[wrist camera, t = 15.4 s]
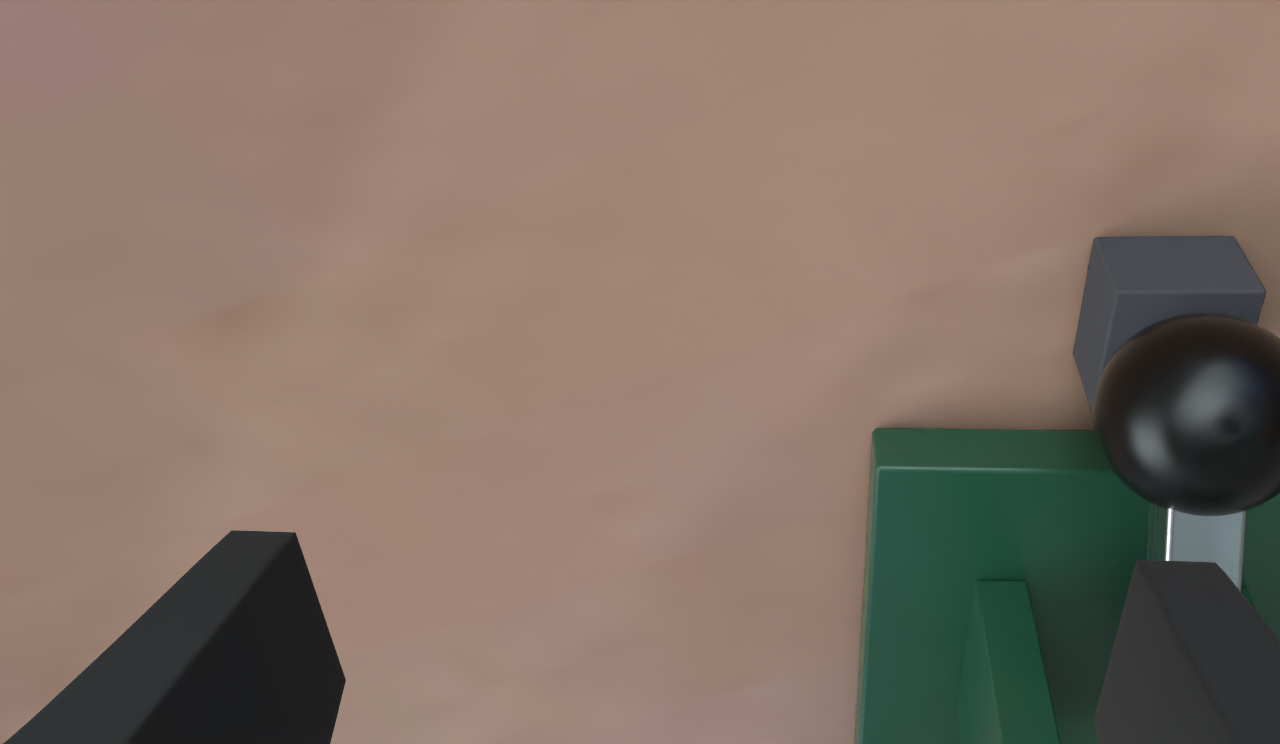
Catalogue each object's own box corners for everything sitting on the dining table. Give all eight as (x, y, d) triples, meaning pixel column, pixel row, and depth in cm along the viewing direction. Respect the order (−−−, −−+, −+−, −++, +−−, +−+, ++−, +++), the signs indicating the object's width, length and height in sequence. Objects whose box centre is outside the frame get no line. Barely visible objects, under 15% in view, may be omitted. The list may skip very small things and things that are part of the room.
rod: (1076, 304, 18) (1128, 323, 16) (1275, 304, 18) (1368, 323, 15) (1048, 984, 20) (1090, 1117, 17) (1230, 998, 20) (1306, 1136, 17)
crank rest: (1202, 354, 20) (1231, 415, 19) (1072, 354, 20) (1090, 414, 19) (1234, 234, 19) (1268, 291, 17) (1093, 235, 19) (1115, 291, 18)
